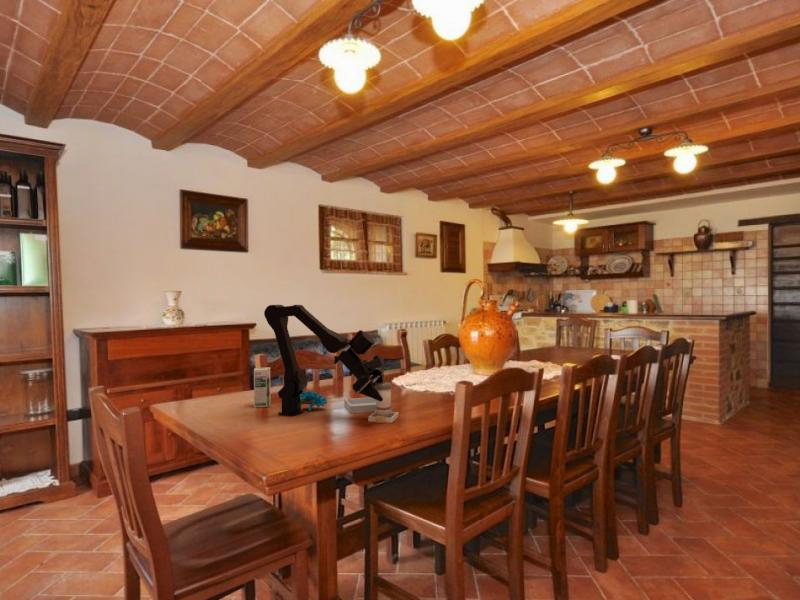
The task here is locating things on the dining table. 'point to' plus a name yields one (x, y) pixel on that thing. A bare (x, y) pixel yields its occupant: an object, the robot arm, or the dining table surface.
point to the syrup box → (261, 387)
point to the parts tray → (360, 405)
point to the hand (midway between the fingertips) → (386, 397)
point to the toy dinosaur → (312, 399)
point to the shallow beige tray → (383, 418)
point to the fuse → (384, 399)
